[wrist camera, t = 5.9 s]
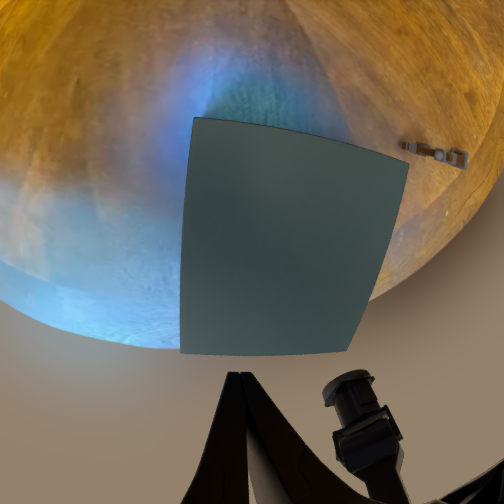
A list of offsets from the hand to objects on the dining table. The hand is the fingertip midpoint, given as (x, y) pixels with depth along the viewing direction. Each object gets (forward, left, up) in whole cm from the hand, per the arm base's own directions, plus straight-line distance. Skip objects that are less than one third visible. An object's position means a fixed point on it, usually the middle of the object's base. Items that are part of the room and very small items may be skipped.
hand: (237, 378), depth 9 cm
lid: (+1, -3, -7) cm, 8 cm away
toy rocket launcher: (+10, -17, -13) cm, 24 cm away
